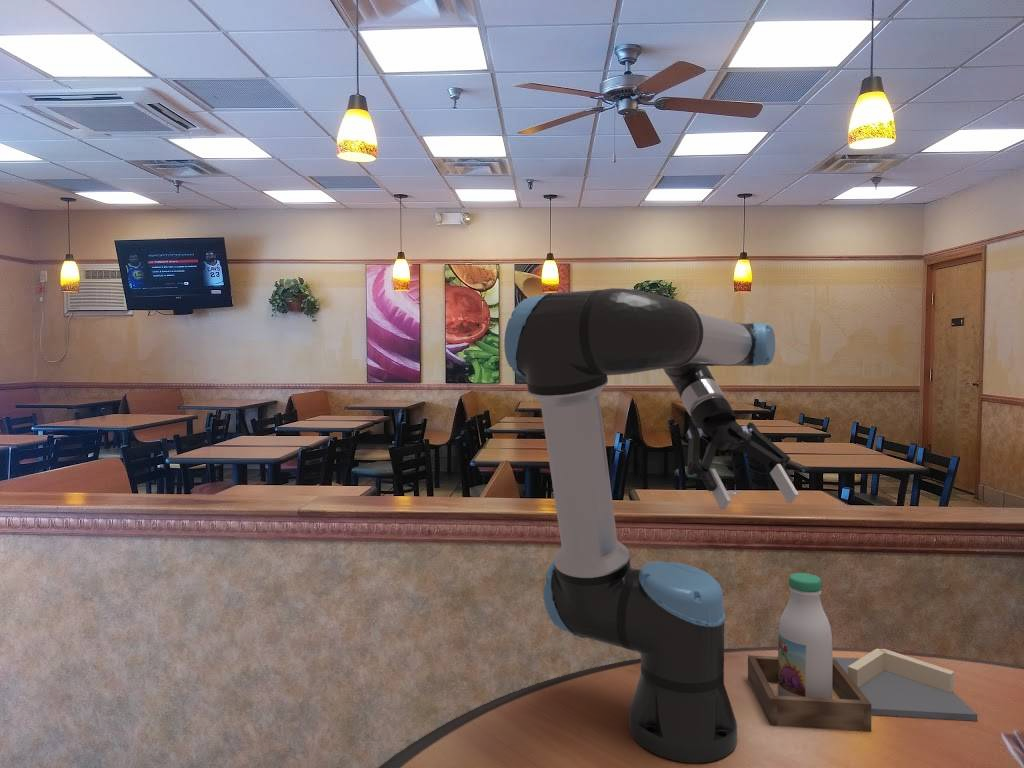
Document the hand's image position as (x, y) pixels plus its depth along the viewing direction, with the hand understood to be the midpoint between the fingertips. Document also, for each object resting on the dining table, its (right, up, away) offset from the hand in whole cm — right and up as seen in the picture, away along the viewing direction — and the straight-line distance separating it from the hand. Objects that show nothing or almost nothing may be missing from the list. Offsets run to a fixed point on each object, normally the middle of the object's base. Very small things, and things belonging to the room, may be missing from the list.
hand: (760, 502), depth 110 cm
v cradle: (+20, -29, -5) cm, 36 cm away
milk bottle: (+3, -30, -9) cm, 31 cm away
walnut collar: (+3, -30, -9) cm, 31 cm away
